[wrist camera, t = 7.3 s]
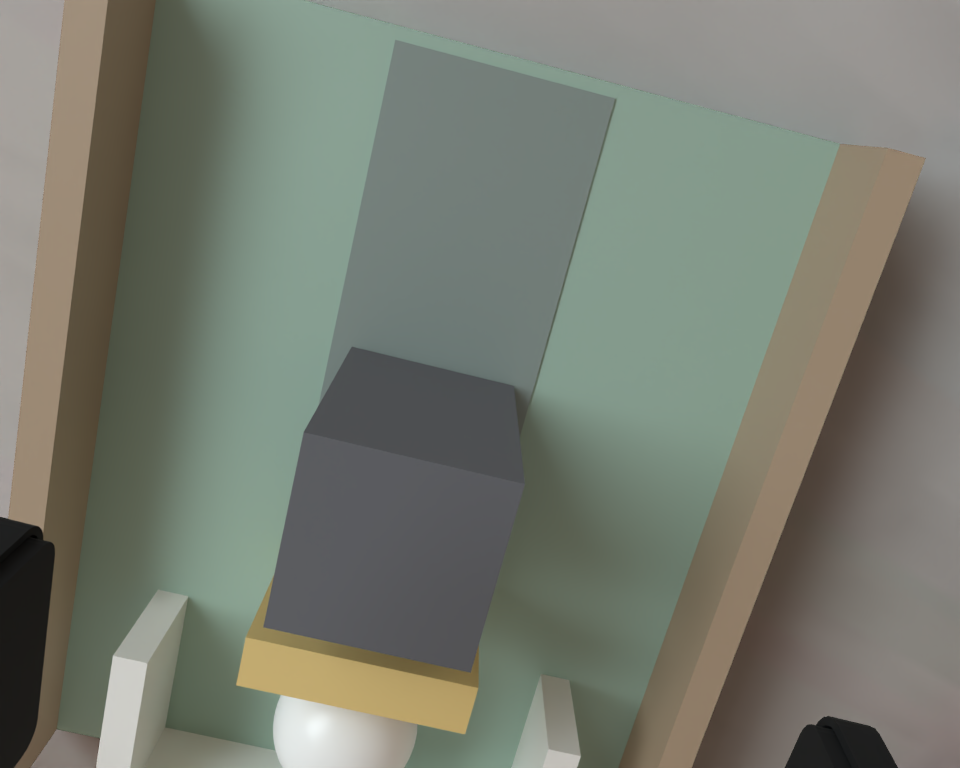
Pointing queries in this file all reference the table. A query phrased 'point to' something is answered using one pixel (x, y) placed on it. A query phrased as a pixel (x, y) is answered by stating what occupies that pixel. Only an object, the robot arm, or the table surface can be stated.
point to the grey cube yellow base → (391, 544)
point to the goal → (226, 764)
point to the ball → (338, 737)
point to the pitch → (426, 346)
